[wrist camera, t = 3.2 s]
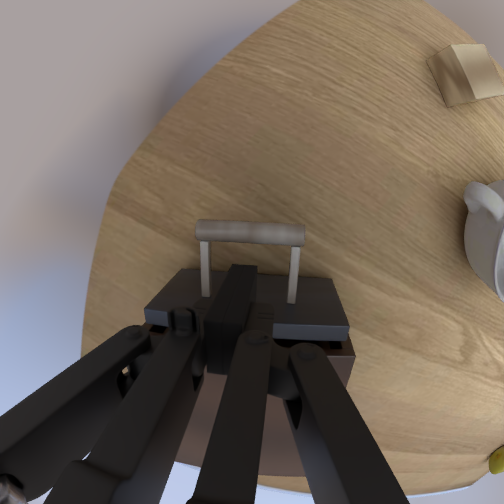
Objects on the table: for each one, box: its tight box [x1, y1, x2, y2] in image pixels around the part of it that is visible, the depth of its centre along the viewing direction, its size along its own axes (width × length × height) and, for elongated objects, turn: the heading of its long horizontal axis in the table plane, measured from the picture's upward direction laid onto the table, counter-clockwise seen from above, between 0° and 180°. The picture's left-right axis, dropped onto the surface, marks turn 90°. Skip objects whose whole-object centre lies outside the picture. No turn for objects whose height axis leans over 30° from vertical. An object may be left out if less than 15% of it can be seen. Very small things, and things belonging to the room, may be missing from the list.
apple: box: [489, 446, 504, 474], centre depth 29 cm, size 8×8×10 cm
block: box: [426, 44, 504, 107], centre depth 15 cm, size 5×5×5 cm
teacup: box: [463, 180, 504, 302], centre depth 17 cm, size 14×11×8 cm
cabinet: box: [143, 322, 356, 477], centre depth 24 cm, size 18×15×10 cm
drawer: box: [144, 219, 350, 349], centre depth 22 cm, size 22×13×8 cm, turn 178°
